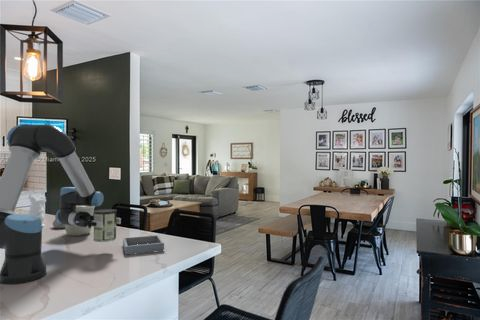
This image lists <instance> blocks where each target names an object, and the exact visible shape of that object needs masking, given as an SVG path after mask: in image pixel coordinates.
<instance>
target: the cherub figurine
mask: <svg viewBox="0 0 480 320" xmlns="http://www.w3.org/2000/svg"><path fill="white" fill-rule="evenodd" d="M28 200H29V201H30V203H31V204H30V206H29V210H28V214H30V215H35V216H38V217H39V218H40V219H41V223H42V228H44V227H45V224H44V223H45V222H44V220H45V215H44V213H45V209H44V205H45V203H47V198H46V196H45V195H41V194H40V195H38V196H35V195H32V194H29V195H28Z"/></svg>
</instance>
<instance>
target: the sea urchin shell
mask: <svg viewBox="0 0 480 320" xmlns="http://www.w3.org/2000/svg"><path fill="white" fill-rule="evenodd" d="M52 226H53V228H55V229H65V225H64V224H61V223H58V222H57V221H56V219H55V218H54V220H53V221H52Z"/></svg>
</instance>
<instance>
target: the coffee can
mask: <svg viewBox="0 0 480 320" xmlns="http://www.w3.org/2000/svg"><path fill="white" fill-rule="evenodd" d="M117 211H118V210H117V209H114V208H113V209H112V208H105V209H97V210H95V209H94V213H93V216H94V221H102V222H103V227H102V228H100V227H93V242H96V243H97V242H98V243H106V242H112V241H115V240H116V239H117V224H116V218H117Z"/></svg>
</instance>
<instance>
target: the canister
mask: <svg viewBox="0 0 480 320" xmlns="http://www.w3.org/2000/svg"><path fill="white" fill-rule="evenodd" d="M95 208H96V206H76V211H82V212H88V213H89V214H90V215H91V216H94V211H95ZM92 227H93V226H91V228H88V226H87V227H80V226H77V227H75V226H74V225H65V228H64V230H65V233H66V235H67V236H68V235H69V236H71V237H72V236H73V237H74V236H77V237H78V236H85V235H87V234H89V233H90V232H91V230H92Z"/></svg>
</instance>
